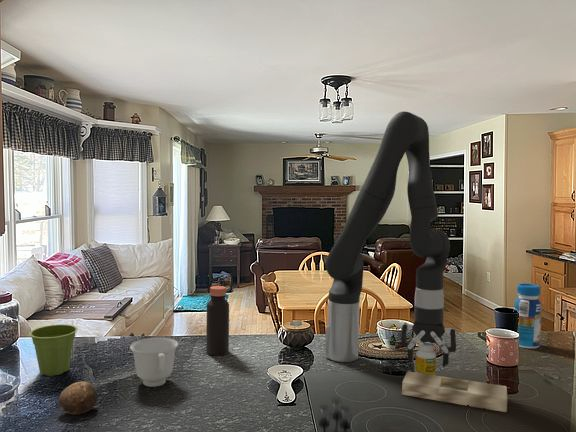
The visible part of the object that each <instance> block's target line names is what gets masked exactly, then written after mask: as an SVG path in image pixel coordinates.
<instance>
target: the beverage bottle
mask: <svg viewBox="0 0 576 432" xmlns="http://www.w3.org/2000/svg"><path fill="white" fill-rule="evenodd" d="M516 287H517V288H516V289H517V290H516V293H517V295H518V297H516V299H515V301H514V304H513V305H514V309H513V311H514V310H517V312H518V313H519V318H518V319H519V322H518V332H519V346H518V347H519V348H523V349H529V350H530V349H532V350H533V349H538V348H539V347H540V346H541V345H540V344H541V327H542V317H543V314H542V311H541V310H542V309H543V307H542V302H541V301H540V299H539V297H540V296H541V286H540V285H538V284H535V283H534V284H532V283H526V282H525V283H518V284H517V286H516Z"/></svg>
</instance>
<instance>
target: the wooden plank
mask: <svg viewBox="0 0 576 432" xmlns="http://www.w3.org/2000/svg"><path fill="white" fill-rule="evenodd" d="M401 384H402V385H401V387H402V388H401V395H403V396H408V397H409V396H410V397H416V398H421V399H426V400H433V401H438V402H443V403H450V404H456V405H460V406H461V405H462V406H467V405H469V406H468V407H472V408H477V409H478V408H479V409H484V408H485V410H491V411H497V412H502V413H507V411H508V390H507V389H508V388H507V387H508V386H506V385H502V384H493V383H486V382H482V381H481V382H480V381H474V380H467V379H461V378H454V377H449V376H442V375H436V374H435V375H430V374H423V373H416V372H415V371H410V370H407V371H406V373H405V376H404V378H403V379H402V383H401Z"/></svg>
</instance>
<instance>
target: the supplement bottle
mask: <svg viewBox="0 0 576 432" xmlns="http://www.w3.org/2000/svg"><path fill="white" fill-rule="evenodd" d="M417 344H418V345H417V347H418V350H416V351H415V365H414V366H415V367H414V372H416V373H423V374H430V375H436V373H437V372H436V370H437V369H436V367H437V353H436V352H435V351H434V350H435V345H434V344H435V343H429V342H422V341H420V342H419V343H417Z"/></svg>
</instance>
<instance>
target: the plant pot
mask: <svg viewBox="0 0 576 432" xmlns="http://www.w3.org/2000/svg"><path fill="white" fill-rule="evenodd" d="M77 332H78V327H77V326H76V325H73V324H51V325H44V326H40V327H36V328H34V329H32V330H31V331H30V332H28V335H29V336H30V337H31V341H32V343H33V346H34V349H35V355H36V359H37V365H38V370H39V373H40V375H45V376H47V377H48V376H49V377H52V376H59V375H62V374H64V373H65V372H69V370H70V365H71V360H72V352H73V345H74V340H75V339H76V333H77Z"/></svg>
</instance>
